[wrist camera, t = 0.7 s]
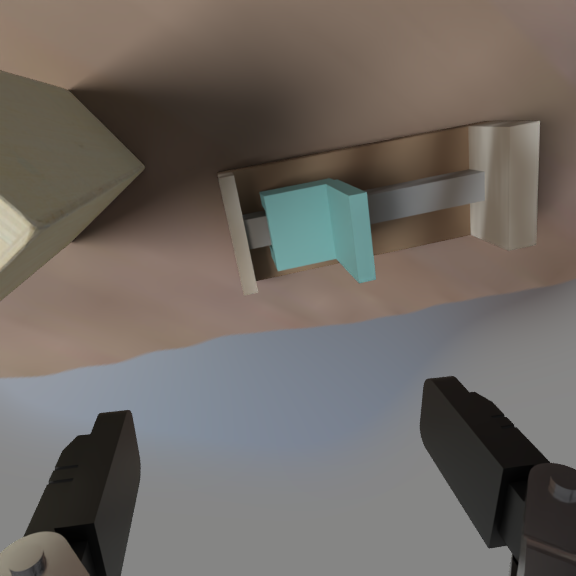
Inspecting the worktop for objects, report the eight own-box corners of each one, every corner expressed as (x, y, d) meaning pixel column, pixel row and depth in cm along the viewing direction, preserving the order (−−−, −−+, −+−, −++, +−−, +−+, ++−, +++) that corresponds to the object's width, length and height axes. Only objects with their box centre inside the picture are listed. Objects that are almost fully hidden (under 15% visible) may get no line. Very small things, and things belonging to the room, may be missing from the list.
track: (485, 121, 34) (539, 121, 28) (486, 226, 37) (536, 244, 31) (217, 172, 32) (219, 183, 26) (240, 278, 35) (246, 308, 29)
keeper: (329, 175, 32) (366, 192, 24) (338, 244, 33) (375, 279, 26) (258, 189, 31) (274, 210, 24) (272, 258, 33) (290, 298, 26)
